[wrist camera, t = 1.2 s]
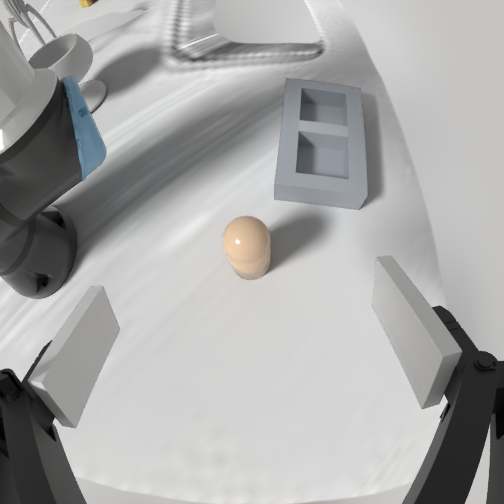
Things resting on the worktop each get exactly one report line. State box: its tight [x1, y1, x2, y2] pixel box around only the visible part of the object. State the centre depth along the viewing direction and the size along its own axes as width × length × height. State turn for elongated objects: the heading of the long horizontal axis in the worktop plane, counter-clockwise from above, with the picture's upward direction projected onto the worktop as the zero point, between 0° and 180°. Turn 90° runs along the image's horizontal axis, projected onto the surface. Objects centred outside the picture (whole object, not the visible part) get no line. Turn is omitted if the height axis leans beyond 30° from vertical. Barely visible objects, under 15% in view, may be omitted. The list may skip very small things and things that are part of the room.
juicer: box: [2, 0, 57, 57], centre depth 44 cm, size 10×9×30 cm
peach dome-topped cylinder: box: [222, 216, 271, 280], centre depth 36 cm, size 5×5×11 cm
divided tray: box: [274, 78, 368, 210], centre depth 44 cm, size 12×20×4 cm, turn 173°
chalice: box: [28, 33, 107, 113], centre depth 45 cm, size 14×14×15 cm
